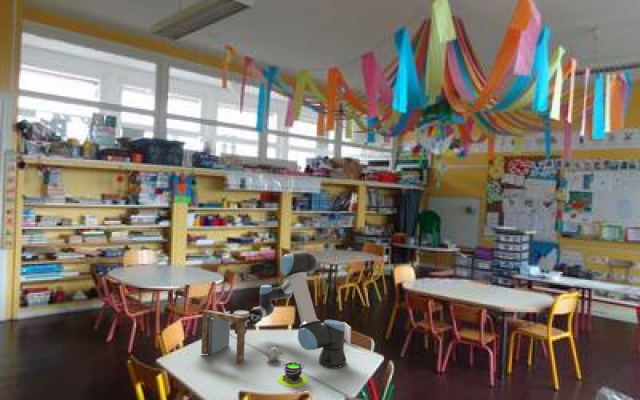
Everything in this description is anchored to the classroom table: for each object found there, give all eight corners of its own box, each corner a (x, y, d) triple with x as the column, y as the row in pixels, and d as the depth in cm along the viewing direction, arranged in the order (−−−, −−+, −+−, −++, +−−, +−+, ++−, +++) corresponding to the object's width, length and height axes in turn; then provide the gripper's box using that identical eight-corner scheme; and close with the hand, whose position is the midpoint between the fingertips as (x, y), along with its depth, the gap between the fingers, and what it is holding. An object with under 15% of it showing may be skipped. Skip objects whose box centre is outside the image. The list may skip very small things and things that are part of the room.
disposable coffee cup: (248, 330, 268) (249, 309, 268) (248, 335, 259) (249, 314, 258) (232, 330, 267) (233, 309, 266) (231, 335, 257) (232, 314, 257)
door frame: (243, 362, 250) (245, 316, 249) (240, 363, 247) (242, 318, 246) (204, 353, 260) (206, 309, 259) (201, 354, 257) (202, 310, 256)
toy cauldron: (271, 378, 231) (272, 357, 230) (295, 371, 240) (296, 351, 240) (290, 389, 219) (291, 367, 219) (313, 381, 229) (314, 360, 229)
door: (209, 355, 256) (211, 319, 255) (204, 354, 257) (205, 318, 256) (229, 344, 273) (230, 311, 272) (224, 343, 274) (225, 310, 273)
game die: (274, 368, 252) (278, 358, 245) (261, 361, 253) (264, 351, 247) (282, 356, 259) (285, 346, 252) (268, 349, 260) (271, 339, 254)
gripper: (271, 322, 275) (251, 333, 254) (242, 317, 283) (220, 327, 262) (272, 310, 275) (252, 320, 254) (242, 305, 283) (221, 314, 262)
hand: (236, 323), depth 258 cm, fingers closed on disposable coffee cup, 8 cm apart
